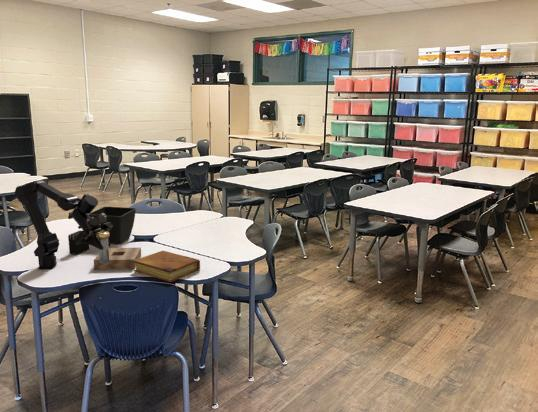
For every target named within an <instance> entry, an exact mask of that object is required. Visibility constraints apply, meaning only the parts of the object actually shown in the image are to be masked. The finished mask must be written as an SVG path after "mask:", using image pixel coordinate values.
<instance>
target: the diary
mask: <svg viewBox="0 0 538 412" xmlns="http://www.w3.org/2000/svg"><path fill="white" fill-rule="evenodd" d="M134 263H136V267H135V269H133V271H134V272H136V273H138V274H139V273H140V274H142V275H146V276H149V277H152V278H155V279H159V280H163V281H166V282H168V283H172V282H175V281H177V280H179V279H180V280H181V278H184V277H187V276H189V275H192V274H195V272H196V273H197V272H199V271H200V269H201V260H200V259H197V258H194V257H190V256H186V255H182V254H179V253H174V252H171V251H167V250H160V251H157V252H155V253H151V254H148V255H146V256H143V257H142V256H141V258H139V259H136V260H134Z"/></svg>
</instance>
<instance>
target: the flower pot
mask: <svg viewBox="0 0 538 412" xmlns="http://www.w3.org/2000/svg"><path fill="white" fill-rule="evenodd" d="M136 211H137V208H135V207H119V206H103V207H101V208H98V209H96V210H95V211H94V210H93V211H92V212H91V213H89V214H88V215H89V216H90V217H94V218H96V217H98V216H99V215H100V214H102V213H104V214H105V215H106V216H107V220H106V222H103V223H101V225H100V227H101V226H102V224H104V223H107V222H110V223H111V224H112V225H113V227H112V228H111V229H110V230H109V231H108V232H109V237H108V239H109V242H110V245H111V244H112V245H120V244H122V243H124V242H126V241H127V240H129V239H130V238H131V235H132V231H133V228H134V224H135V217H136ZM100 227H98V228H100ZM96 238H97V237H96ZM128 238H129V239H128ZM97 239H98V238H97Z"/></svg>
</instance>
